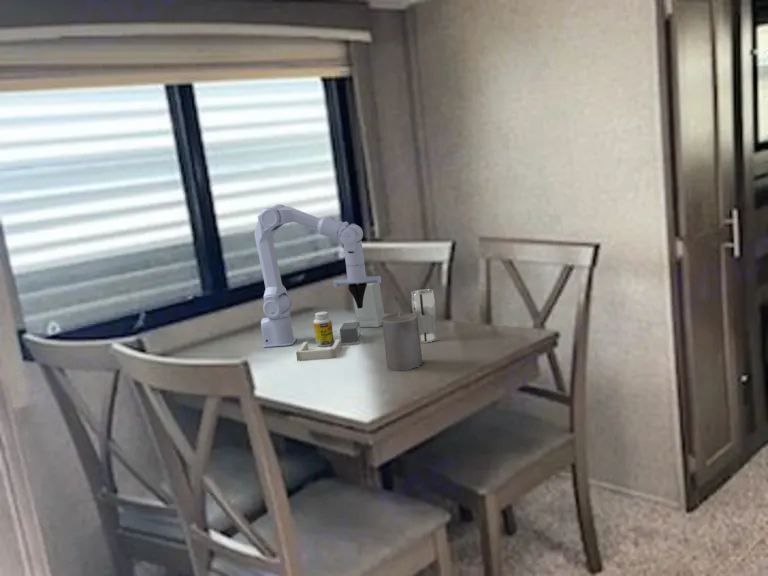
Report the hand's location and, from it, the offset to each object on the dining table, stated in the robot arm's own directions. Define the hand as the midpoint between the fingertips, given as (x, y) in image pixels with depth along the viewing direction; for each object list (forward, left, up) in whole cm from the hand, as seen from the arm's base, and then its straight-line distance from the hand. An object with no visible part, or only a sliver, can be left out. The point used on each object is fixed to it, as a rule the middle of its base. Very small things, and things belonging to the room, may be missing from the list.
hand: (360, 307), depth 239 cm
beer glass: (+20, -6, -11) cm, 23 cm away
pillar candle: (+15, -30, -11) cm, 35 cm away
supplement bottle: (-12, -2, -11) cm, 16 cm away
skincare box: (0, +18, -11) cm, 21 cm away
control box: (-4, 0, -10) cm, 11 cm away
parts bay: (-12, -11, -10) cm, 19 cm away
